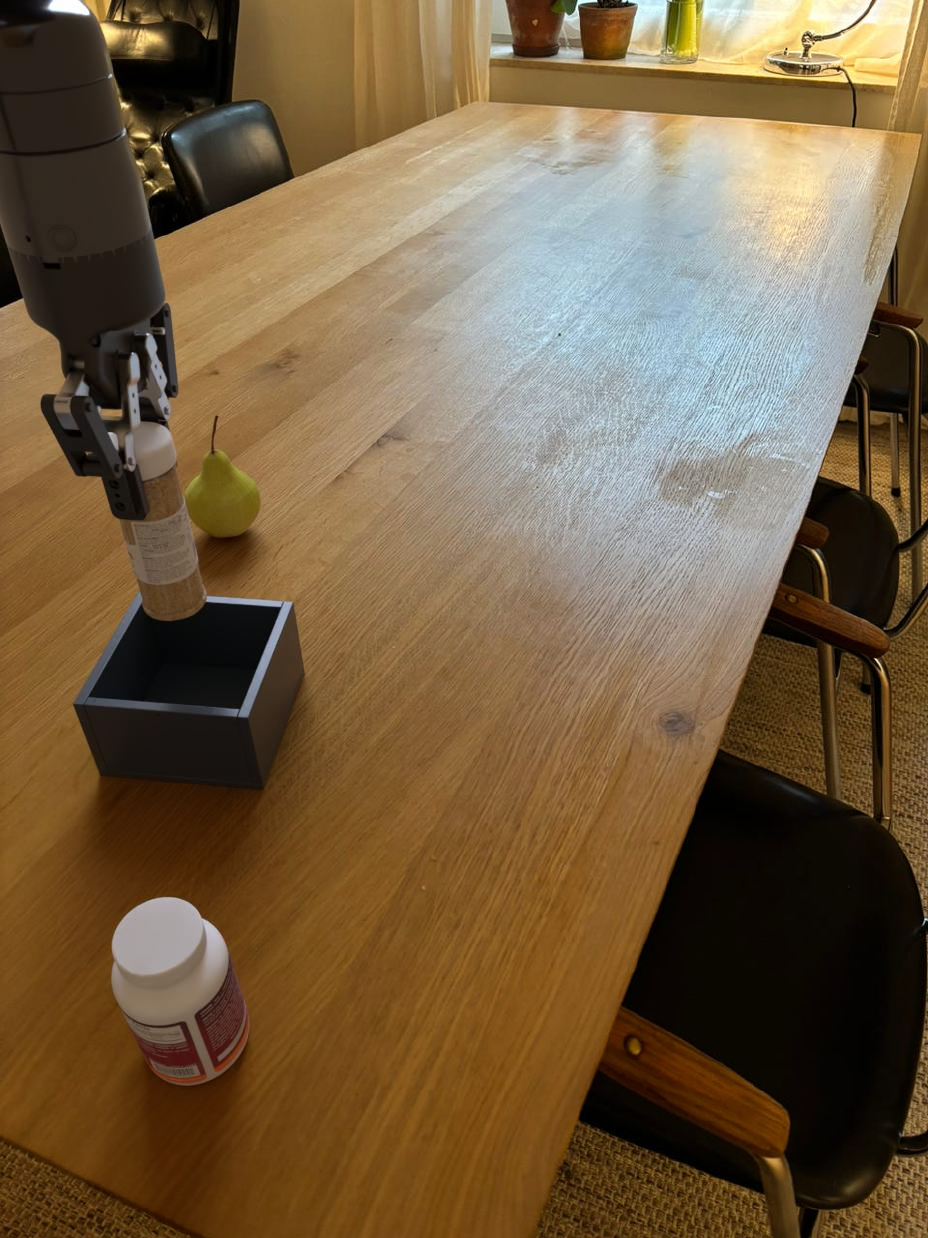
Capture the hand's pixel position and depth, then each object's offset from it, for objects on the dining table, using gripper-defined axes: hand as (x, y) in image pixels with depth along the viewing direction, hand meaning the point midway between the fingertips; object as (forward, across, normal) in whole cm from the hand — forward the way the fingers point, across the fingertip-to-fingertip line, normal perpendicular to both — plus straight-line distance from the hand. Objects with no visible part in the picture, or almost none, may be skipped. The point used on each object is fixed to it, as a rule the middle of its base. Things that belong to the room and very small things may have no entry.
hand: (146, 492), depth 64 cm
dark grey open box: (+21, 0, 0) cm, 21 cm away
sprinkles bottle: (+10, 0, 0) cm, 10 cm away
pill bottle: (+22, +25, +8) cm, 34 cm away
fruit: (+22, -25, -6) cm, 34 cm away
